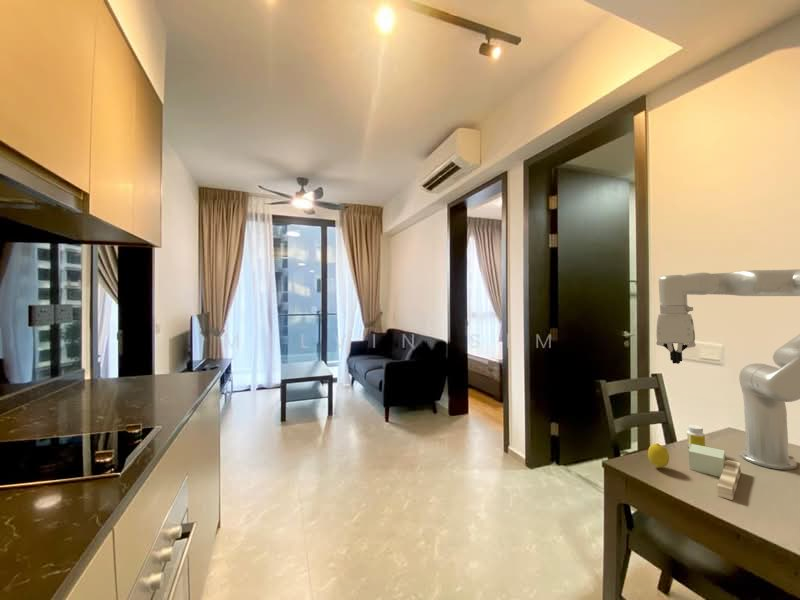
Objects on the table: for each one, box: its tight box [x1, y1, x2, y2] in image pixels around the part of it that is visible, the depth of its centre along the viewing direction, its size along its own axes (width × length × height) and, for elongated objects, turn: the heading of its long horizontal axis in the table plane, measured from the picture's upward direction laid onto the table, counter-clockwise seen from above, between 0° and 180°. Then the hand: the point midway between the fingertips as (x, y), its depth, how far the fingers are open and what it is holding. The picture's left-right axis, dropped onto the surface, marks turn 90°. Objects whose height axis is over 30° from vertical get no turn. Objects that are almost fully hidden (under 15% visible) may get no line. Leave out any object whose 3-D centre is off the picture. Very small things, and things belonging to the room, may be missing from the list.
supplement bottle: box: [686, 424, 706, 450], centre depth 122 cm, size 5×5×8 cm
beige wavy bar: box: [716, 459, 742, 501], centre depth 101 cm, size 20×3×3 cm, turn 131°
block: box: [688, 444, 726, 478], centre depth 109 cm, size 7×8×6 cm
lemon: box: [647, 443, 670, 469], centre depth 112 cm, size 6×6×8 cm
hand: (676, 362), depth 119 cm, fingers closed
